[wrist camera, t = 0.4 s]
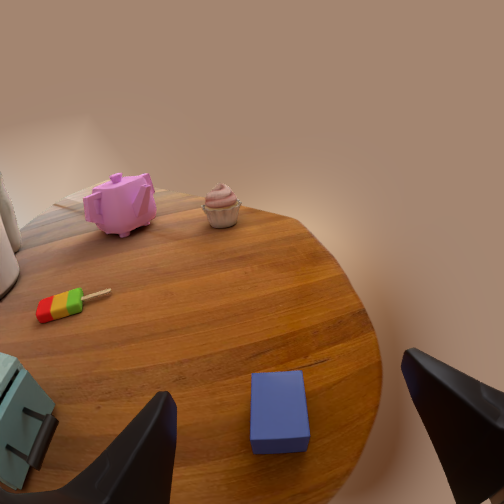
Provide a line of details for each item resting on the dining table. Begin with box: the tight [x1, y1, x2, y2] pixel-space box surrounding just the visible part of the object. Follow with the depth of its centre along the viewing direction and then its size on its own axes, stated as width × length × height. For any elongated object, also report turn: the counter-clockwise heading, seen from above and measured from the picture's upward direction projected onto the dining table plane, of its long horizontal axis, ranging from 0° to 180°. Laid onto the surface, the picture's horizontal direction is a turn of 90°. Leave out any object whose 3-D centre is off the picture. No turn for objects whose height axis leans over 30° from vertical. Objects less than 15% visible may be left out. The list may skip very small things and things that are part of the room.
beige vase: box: [0, 172, 21, 253], centre depth 58 cm, size 10×10×28 cm
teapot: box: [83, 173, 156, 237], centre depth 67 cm, size 19×18×15 cm
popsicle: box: [36, 288, 111, 323], centre depth 40 cm, size 6×15×2 cm, turn 117°
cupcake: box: [201, 183, 242, 228], centre depth 64 cm, size 9×9×10 cm
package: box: [250, 370, 310, 454], centre depth 22 cm, size 5×7×4 cm, turn 179°
